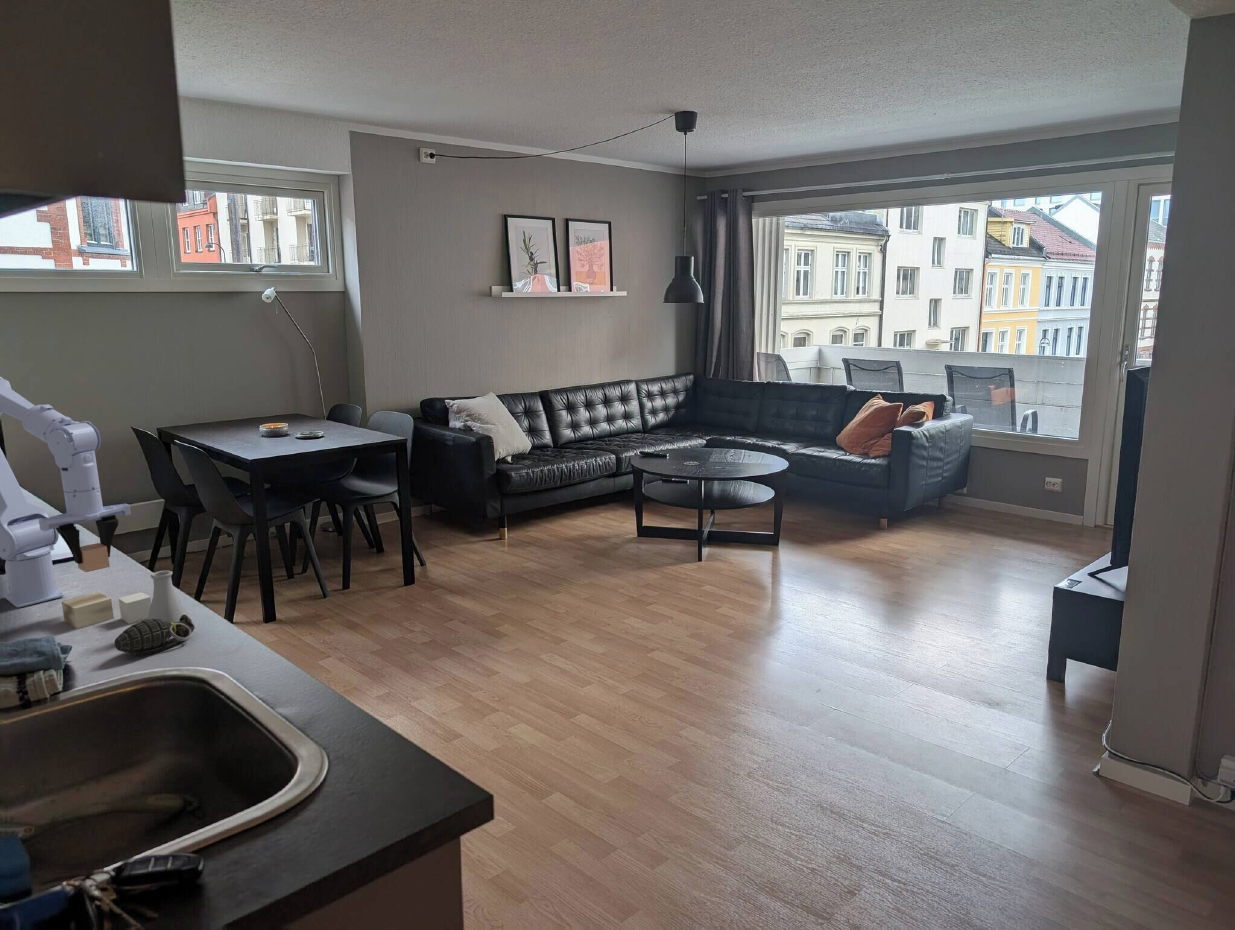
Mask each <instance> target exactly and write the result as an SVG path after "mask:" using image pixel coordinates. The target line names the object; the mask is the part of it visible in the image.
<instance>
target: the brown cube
mask: <svg viewBox="0 0 1235 930" xmlns="http://www.w3.org/2000/svg"><path fill="white" fill-rule="evenodd" d="M80 549H81V554H82V560H83V563H81V564H77V566H78V569H80V570H81V571H83V572H85V573H89V572H94V571H99V570H102V569H106V568H110V567H111V566H110V561H109V558H110V557H108V552H107V546H105V545H103V544H101V543H100V542H96V543H92V544H87V545H82V546H81V545H80Z"/></svg>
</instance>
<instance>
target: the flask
mask: <svg viewBox="0 0 1235 930" xmlns="http://www.w3.org/2000/svg"><path fill="white" fill-rule="evenodd" d="M172 575H173V571H171V570H158V571H155V572H153V573H152V574H150V578H151V579H152V580H153V582H152V583H153V597H152V599H151V607H150V611H149V614H148V618H147V619H146V620H148V619H150V620H151V619H161V620H162V621H166V622H172V623H173V622H179V620H180V618H181V616H182V615H187V616H188V617H189V618H190V620H191V621H192V622H193V619H192V618H191V616H190V614H189V613H188V611H187V610H186V608H185V606H184V605H183V603H182V602H181V599H180V598H179V596H178V594H177V592H176V590H175V587H174V585H173V581H172Z"/></svg>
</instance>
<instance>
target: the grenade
mask: <svg viewBox="0 0 1235 930" xmlns="http://www.w3.org/2000/svg"><path fill="white" fill-rule="evenodd" d="M190 618H191V617H190ZM190 618H189V617H188V616H187V615H182V616H181V618H180V620H179V622H173V623H172V622H166V621H162V620H161V619H151V620H150V619H148V620H147V619H145V620H142V621H138V622H135V623H133V624H131V626H129V627H127V628H126V629H124V630H123V631H122V633H119V635H117V637H116V638H115V639H114V646H115V648H116V650H117V651H118V652H122V653H129V654H134V655H133V658H138V657H142V656H148V655H152V654H155V652H156V653H158V651H159V652H161V650H162V651H164V650H166V648H167V649H169V648H172V647H173V646H177V645H179V644H180V643H182V642H183V641H184V642H185V641H187V640H189V639H190V638H191V637H192V633H193V632H194V630H195V628H196V627H195V625H194V623H193V620H192V621H191V620H190ZM171 638H173V639H175V640H176V641H174V642H172V643H170V644H169V643H168V641H169V639H171ZM167 643H168V644H167ZM166 644H167V645H166ZM171 646H172V647H171ZM159 647H160V648H159Z"/></svg>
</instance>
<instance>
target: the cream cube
mask: <svg viewBox="0 0 1235 930" xmlns="http://www.w3.org/2000/svg"><path fill="white" fill-rule="evenodd" d="M151 603H152V599H151V596H149V595H148V594H146V593H144V592H142V591H140V592H138V593H134V594H133V593H132V594H130V595H126V596H122V597H121V596H120V597H118V604H119V605H118V606H119V612H120V618H121V619H122V620H123V621H124V622H126V623H128V624H129V625H130V623H131V624H135V623H138V622H141V620H142V621H144V620H147V618H148V614H149V611H150V607H151Z"/></svg>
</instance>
